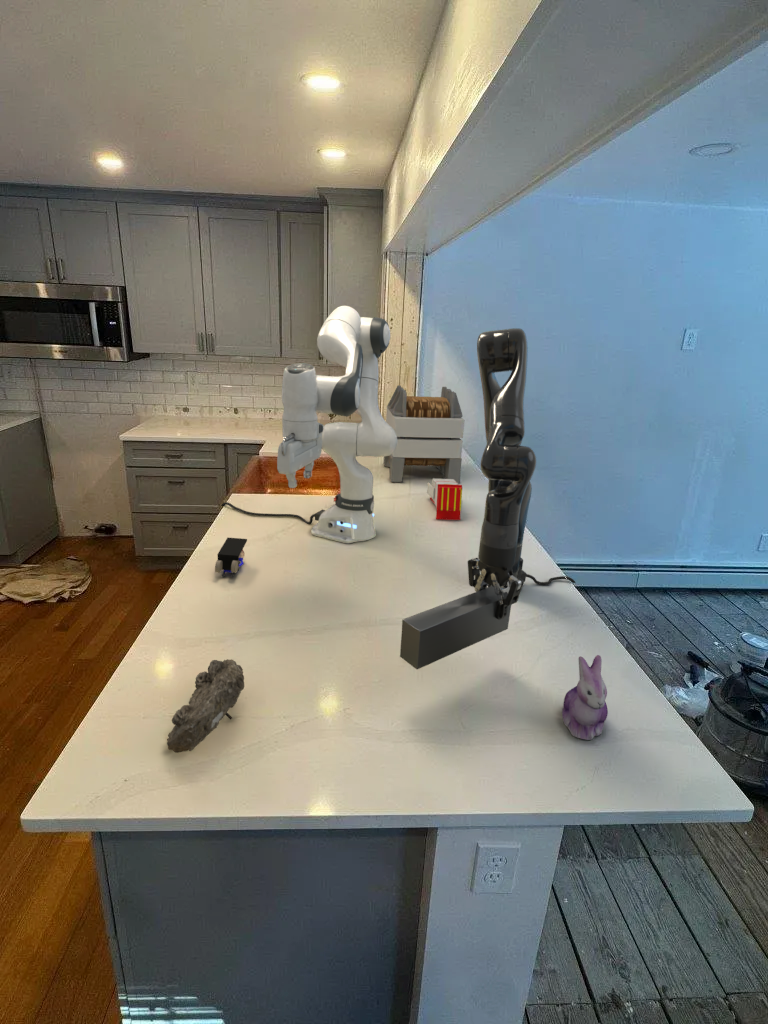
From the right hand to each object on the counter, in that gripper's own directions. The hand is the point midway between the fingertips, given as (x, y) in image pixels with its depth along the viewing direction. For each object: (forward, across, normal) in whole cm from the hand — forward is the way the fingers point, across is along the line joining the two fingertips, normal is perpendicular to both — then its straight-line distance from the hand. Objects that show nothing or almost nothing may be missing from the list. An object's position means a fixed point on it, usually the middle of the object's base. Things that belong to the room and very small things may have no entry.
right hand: (489, 612), depth 123 cm
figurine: (+14, -25, -2) cm, 28 cm away
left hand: (-17, +55, +15) cm, 59 cm away
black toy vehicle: (+14, +76, +26) cm, 82 cm away
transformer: (+14, +127, -92) cm, 158 cm away
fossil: (+14, +18, +56) cm, 60 cm away
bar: (+4, 0, +10) cm, 10 cm away
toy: (+14, +83, -67) cm, 108 cm away
